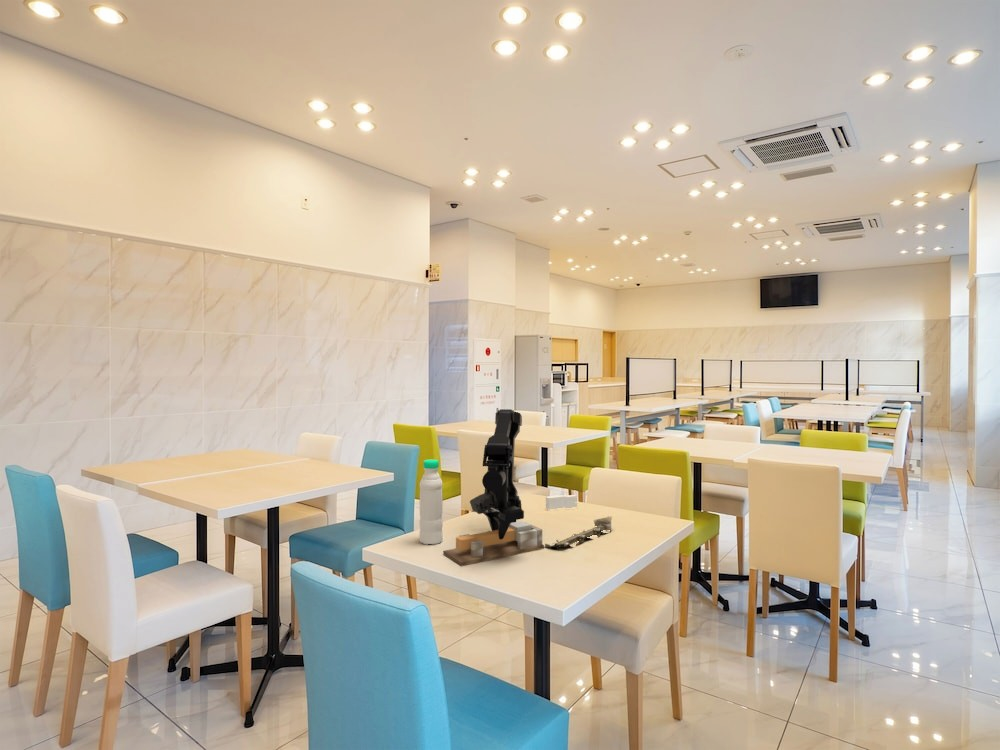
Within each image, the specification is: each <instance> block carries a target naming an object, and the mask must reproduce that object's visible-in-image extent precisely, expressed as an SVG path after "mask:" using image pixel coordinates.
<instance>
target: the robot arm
mask: <svg viewBox="0 0 1000 750" xmlns="http://www.w3.org/2000/svg"><path fill="white" fill-rule="evenodd" d="M494 419H495V420H494V421H495V422H494V424H495V428H494V429H495V430H494V433H493V435H491V436H489V437H488V439H487V443H486V444H484V448H483V449H484V451H483V458H482V467H487V471H486V472H485V473H484V475H483V476H482V479H481V482H482V485H483V487H484V493H481V494H479V495H477V496H475V497H474V498H472V499H471V500H469V504H470V506H471V507H470V508H471V510H472V512H473V513H477V514H478V515H481V514H482V515H484V516H486V518H487V520H488V523H489V526H490V531H494V530H498V533H499V539H503V538H504V536H505V534H506V532H507V530H508V527H509V525H510V524H511V523H513V522H517V521H518V520H523V519H525V511H524V509H522V500H521V498H520V495H518V494H519V493H518V489H517V487H515V484H514V468H515V447H516V446H515V440H516V438H517V436H518V435H519V434H520V431H521V429H520V428H521V426H522V425H523V416H522V414H521V413H520V412H518V411H515V410H514V409H508V408H507V409H505V408H504V409H501V408H500V409H498V410H497V412H495V418H494Z"/></svg>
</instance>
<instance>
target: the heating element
mask: <svg viewBox="0 0 1000 750" xmlns="http://www.w3.org/2000/svg"><path fill="white" fill-rule="evenodd" d="M612 519H613V516H612V515H610V516H607V517H602V518H598V519H593V524H594V527H592V528H589V529H586V530H587V531H585V529H583V531H582V532H578V533H579V534H578V533H577V534H576V533H574V534H572V535H571V536H569V537H567V538H565V539H562V540H560V541H559V539H555V540H556V542H553V543H551V544H552V545H551V544H549V543H544V548H552V547H553V548H555V549H560V548H561V549H564V548H572V545H573V543H574V544H576V545H575V547H577V546H579V544H580V543H583V542H584V541H585V540H591V539H590V538H587V537H590V536H592V535H597V536H599V537H600V536H601V534H604V533H603V532H601V531H603V530H610V531H611V532H612ZM595 526H597V527H595ZM573 535H574V536H573ZM577 541H579V542H577ZM575 542H576V543H575Z"/></svg>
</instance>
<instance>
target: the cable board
mask: <svg viewBox="0 0 1000 750" xmlns="http://www.w3.org/2000/svg"><path fill="white" fill-rule="evenodd" d="M524 522H525V521H524ZM525 523H527V522H525ZM530 525H531V530H527V531H522V532H518V541H516V540H514V541H509V542H504V543H499V544H494V545H489V546H484V547H483V541H481V540H478V541H473V542H471V549H469V550H464V551H460V550H458V549H457V548H456V547H455V548H451V549H446V550H443V552H442V554H443V555H444V556H445V557H446V558H448V559H450V560H451V561H453V562H454V563H456V564H458V565H459V566H460V567H463V566H468V565H472V564H477V563H482V562H487V561H491V560H498V559H501V558H505V557H510V556H514V555H520V554H524V553H529V552H533V551H538V550H543V549H544V548H545V544H543V529H542V528H540V527H537V526H535V525H532V524H530ZM466 535H471V534H470V533H466V534H461V535H459V537H461V536H466Z"/></svg>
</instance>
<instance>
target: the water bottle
mask: <svg viewBox="0 0 1000 750" xmlns="http://www.w3.org/2000/svg"><path fill="white" fill-rule="evenodd" d="M422 465H423V470H424V473H423V475H422V477H421V480H420V481H419V517H420V519H419V542H420V543H421V544H423V545H428V544H432V545H437V544H439V543H442V541H443V540H444V538H443V537H444V535H443V526H444V525H443V505H444V503H443V500H444V499H443V480H442V478H441V476H440V473H439V472H438V470H439V466H440V463H439V460H438V459H425V460H423V463H422Z"/></svg>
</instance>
